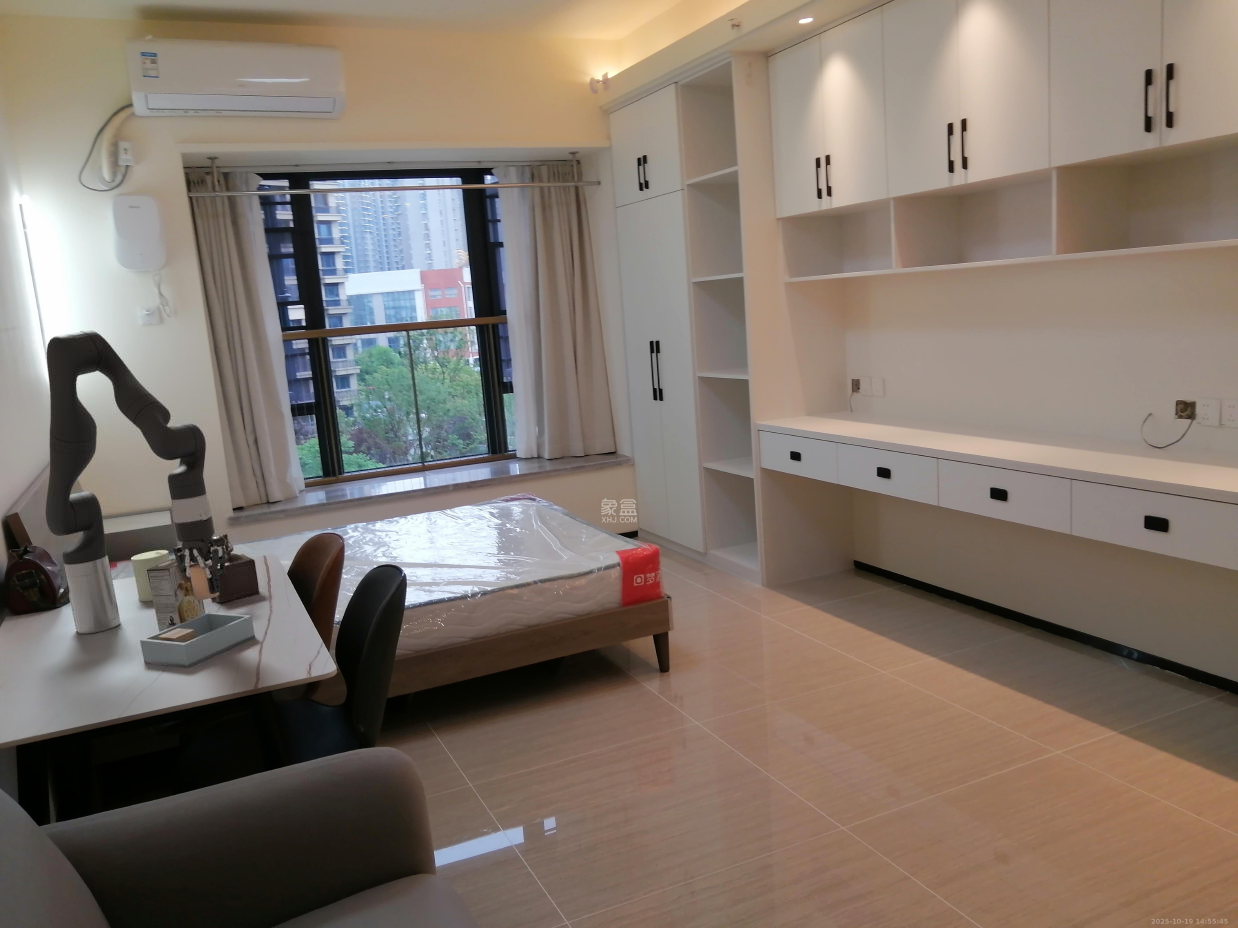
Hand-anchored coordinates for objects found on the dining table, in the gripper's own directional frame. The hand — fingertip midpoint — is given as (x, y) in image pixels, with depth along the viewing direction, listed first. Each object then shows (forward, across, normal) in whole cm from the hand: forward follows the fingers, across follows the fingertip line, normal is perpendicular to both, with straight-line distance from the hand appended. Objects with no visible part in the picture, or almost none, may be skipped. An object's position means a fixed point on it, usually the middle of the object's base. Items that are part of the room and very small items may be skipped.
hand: (206, 591), depth 203 cm
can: (+12, -52, +25) cm, 59 cm away
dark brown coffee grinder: (+12, -25, +28) cm, 39 cm away
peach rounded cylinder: (+1, 0, 0) cm, 1 cm away
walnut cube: (+11, 0, -9) cm, 14 cm away
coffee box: (+12, -18, +6) cm, 22 cm away
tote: (+12, 0, -4) cm, 12 cm away
